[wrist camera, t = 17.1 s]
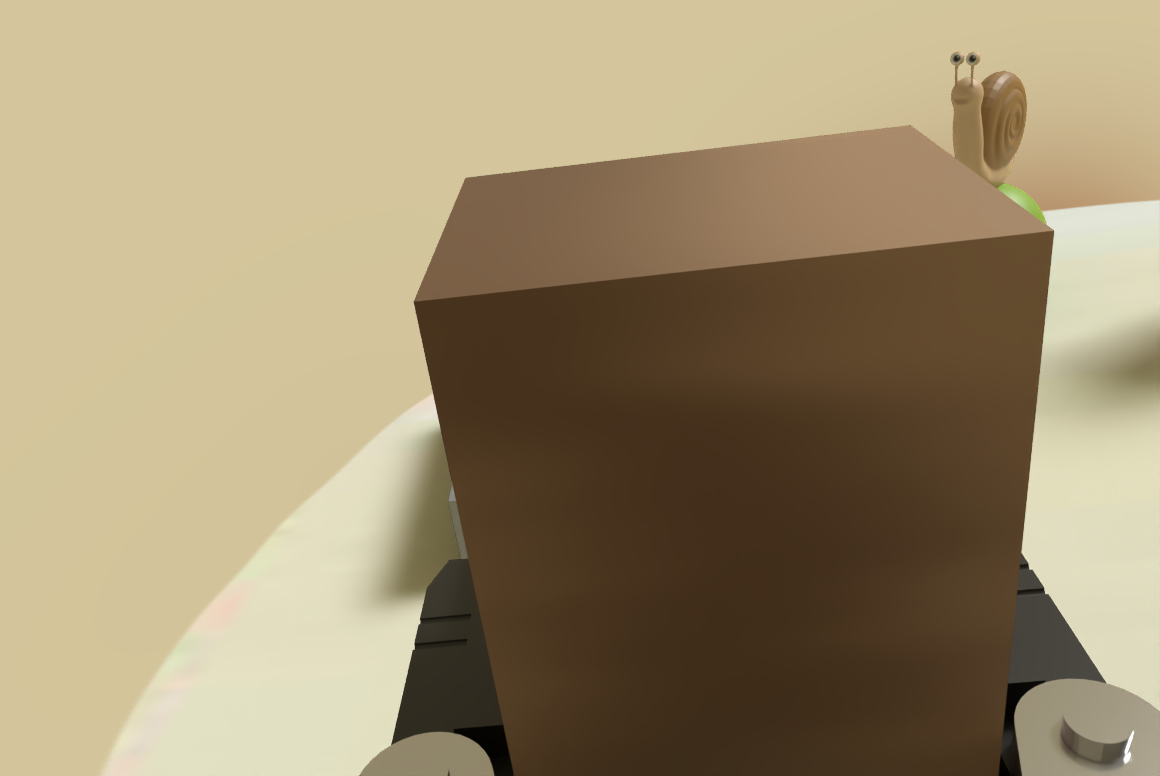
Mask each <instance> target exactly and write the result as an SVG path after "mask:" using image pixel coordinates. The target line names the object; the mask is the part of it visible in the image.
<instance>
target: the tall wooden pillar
mask: <svg viewBox="0 0 1160 776" xmlns="http://www.w3.org/2000/svg"><path fill="white" fill-rule="evenodd" d="M1053 237H1054V230H1053V229H1051V228H1050V227H1048V226H1047V225H1046V224H1044V223H1043V222H1042V221H1040V220H1039V219H1038V218H1036V217H1035V216H1033V215H1032V214H1031V213H1029V212H1028V211H1027V210H1025V209H1024V208H1023V207H1021V206H1020V205H1018V204H1017V203H1016V202H1014V201H1013V200H1012V199H1010V198H1009V197H1008V196H1006V195H1005V194H1004V193H1002V192H1001V191H999V190H998V189H997V188H995V187H994V186H993V185H991V184H990V183H989V182H987V181H986V180H984V179H983V178H982V177H980V176H979V175H978V174H976V173H975V172H974V171H972V170H971V169H969V168H968V167H967V166H965V165H964V164H963V163H961V162H960V161H959V160H957V159H956V158H954V157H953V156H952V155H950V154H949V153H948V152H946V151H945V150H944V149H942V148H941V147H939V146H938V145H937V144H935V143H934V142H933V141H931V140H930V139H928V138H927V137H926V136H924V135H923V134H922V133H920V132H919V131H918V130H916V129H915V128H913V127H912V126H911V125H908V126H900V127H892V128H883V129H875V130H867V131H858V132H850V133H841V134H833V135H824V136H816V137H807V138H799V139H790V140H782V141H773V142H765V143H757V144H748V145H739V146H731V147H722V148H714V149H706V150H697V151H689V152H680V153H672V154H663V155H655V156H647V157H639V158H630V159H621V160H613V161H604V162H596V163H587V164H579V165H571V166H562V167H553V168H545V169H537V170H528V171H520V172H511V173H503V174H495V175H486V176H477V177H469V178H465V180H464V183H463V186H462V188H461V190H460V192H459V195H458V197H457V200H456V202H455V204H454V207H453V209H452V212H451V214H450V216H449V219H448V221H447V223H446V226H445V228H444V231H443V233H442V235H441V238H440V240H439V243H438V245H437V247H436V250H435V253H434V255H433V257H432V259H431V262H430V264H429V267H428V269H427V271H426V274H425V276H424V279H423V281H422V283H421V286H420V288H419V290H418V293H417V295H416V298H415V300H414V305H415V310H416V314H417V319H418V324H419V329H420V334H421V338H422V343H423V348H424V352H425V357H426V362H427V366H428V371H429V376H430V381H431V385H432V390H433V395H434V400H435V404H436V409H437V414H438V418H439V423H440V428H441V433H442V437H443V442H444V447H445V451H446V456H447V461H448V466H449V470H450V475H451V480H452V485H453V489H454V494H455V499H456V503H457V508H458V513H459V518H460V522H461V527H462V532H463V536H464V541H465V546H466V551H467V555H468V560H469V565H470V569H471V574H472V579H473V584H474V588H475V593H476V598H477V602H478V607H479V612H480V617H481V621H482V626H483V631H484V636H485V640H486V645H487V650H488V654H489V659H490V664H491V669H492V673H493V678H494V683H495V687H496V692H497V697H498V702H499V706H500V711H501V716H502V720H503V725H504V730H505V735H506V739H507V744H508V749H509V753H510V758H511V763H512V768H513V772H514V776H998V775H999V765H1000V755H1001V745H1002V736H1003V726H1004V716H1005V706H1006V696H1007V687H1008V677H1009V667H1010V657H1011V648H1012V638H1013V628H1014V618H1015V608H1016V599H1017V589H1018V579H1019V569H1020V559H1021V550H1022V540H1023V530H1024V520H1025V511H1026V501H1027V491H1028V481H1029V471H1030V462H1031V452H1032V442H1033V432H1034V422H1035V413H1036V403H1037V393H1038V383H1039V374H1040V364H1041V354H1042V344H1043V334H1044V325H1045V315H1046V305H1047V295H1048V285H1049V276H1050V266H1051V256H1052V246H1053Z"/></svg>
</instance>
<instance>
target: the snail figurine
mask: <svg viewBox="0 0 1160 776" xmlns="http://www.w3.org/2000/svg"><path fill="white" fill-rule="evenodd" d="M963 61H964V55H963V53H961V52H955V53H953V55H952V56H951V63H952V64H953V65H955V86H954V88H953V90H952V93H951V101H952V104H953V107H954V119H953V145H954V152H955V158H956V159H957V160H959V161H960V162H961V163H963V164H964V165H965V166H967V167H968V168H969V169H971V170H972V171H974V172H975V173H976V174H978V175H979V176H980V177H982V178H983V179H984V180H986V181H987V182H989V183H990V184H991V185H993V186H994V187H995V188H997V189H998V190H999V191H1001V192H1002V193H1004V194H1005V195H1006V196H1008V197H1009V198H1010V199H1012V200H1013V201H1014V202H1016V203H1017V204H1018V205H1020V206H1021V207H1023V208H1024V209H1025V210H1027V211H1028V212H1029V213H1031V214H1032V215H1033V216H1035V217H1036V218H1038V219H1039V220H1040V221H1042V222H1043V223H1044V224H1046V221H1045V218H1044V215H1043V213H1042V211H1041V209H1040V208H1039V206H1038V205H1037V204H1036V202H1035V201H1034V200H1033V199H1032V198H1031V197H1030V196H1028V194H1026V193H1025V192H1023V191H1022V190H1020V189H1018V188H1016V187H1014V186H1012V185H1009V184H1005V183H1003V182H1004V181H1005V179H1006V178H1007V176H1008V175H1009V173H1010V171H1011V169H1012V166H1013V163H1014V156H1015V153H1016V151H1017V150H1018V147H1019V145H1020V142H1021V139H1022V135H1023V132H1024V127H1025V121H1026V109H1027V103H1026V94H1025V90H1024V87H1023V84H1022V82H1021V80H1020V79H1019V78H1018V77H1017V76H1016V75H1015V74H1013V73H1010V72H1006V71H1001V72H996V73H993V74H992V75H990V76H989V77H987V78H986V79H985V80H984V81H983V82H982V83H980V82H979V81H978V80H977V79H975V78H973V69H974V65H977V64H978V63H979V61H980V55H979V54H978V53H977V52H971V53H969V54H968V56H967V58H966V61H967V63H968V64H969V65H971V77H966V78H963V79H961V80H960V81H957V68H958V65H960V64H962V63H963Z"/></svg>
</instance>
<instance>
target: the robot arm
mask: <svg viewBox="0 0 1160 776" xmlns="http://www.w3.org/2000/svg"><path fill="white" fill-rule="evenodd" d="M420 621H421V623H420V624H419V626H418V630H417V634H416V639H415V643H414V644H415V650H413V652H412V656H411V661H410V665H409V669H408V674H407V678H406V683H405V687H404V691H403V696H402V700H401V705H400V709H399V713H398V718H397V722H396V727H395V731H394V735H393V740H392V744H391V746H389V747H388V748H386V749H385V750H383V751H382V752H380V753H379V754H378V755H377V756H376V757H375V758H373V759H372V760H371V761H370V762H369V764H368V765H367V766H366V767H365V768H364V769H363V771H362V772H361V774H360V775H359V776H514V772H513V768H512V763H511V758H510V753H509V749H508V744H507V739H506V735H505V730H504V725H503V720H502V716H501V711H500V706H499V702H498V697H497V692H496V687H495V683H494V678H493V673H492V669H491V664H490V659H489V654H488V650H487V645H486V640H485V636H484V631H483V626H482V621H481V617H480V612H479V607H478V602H477V598H476V593H475V588H474V584H473V579H472V574H471V569H470V565H469V560H468V558H467V559H457V560H449V561H448V563H447V564H446V565H445V566H444V568H443V569H442V570H441V571H440V573H439V574H438V575H437V576H436V578H435V579H434V580H433V581H432V583H431V584H430V585H429V586H428V588H427V590H426V595H425V599H424V604H423V608H422V612H421V617H420ZM998 776H1160V712H1159V711H1158V710H1157V709H1156V708H1154V707H1153V706H1152V705H1151V704H1149V703H1148V702H1146V701H1145V700H1143V699H1141V698H1140V697H1138V696H1136V695H1134V694H1132V693H1130V692H1128V691H1126V690H1124V689H1121V688H1119V687H1116V686H1113V685H1110V684H1107V683H1106V682H1105V680H1104V679H1103V677H1102V676H1101V674H1100V673H1099V671H1098V670H1097V668H1096V666H1095V665H1094V663H1093V662H1092V660H1091V659H1090V657H1089V656H1088V654H1087V653H1086V651H1085V650H1084V648H1083V647H1082V645H1081V643H1080V642H1079V640H1078V639H1077V637H1076V636H1075V634H1074V633H1073V631H1072V630H1071V628H1070V627H1069V625H1068V624H1067V622H1066V621H1065V619H1064V617H1063V616H1062V614H1061V613H1060V611H1059V610H1058V608H1057V607H1056V605H1055V604H1054V602H1053V601H1052V599H1051V598H1050V596H1049V594H1045V591H1044V587H1043V585H1042V584H1041V582H1040V581H1039V579H1038V578H1037V576H1036V575H1035V573H1034V571H1033V570H1029V565H1028V562H1027V561H1026V559H1025V558H1024V556H1023V555H1022V553H1021V559H1020V569H1019V579H1018V589H1017V599H1016V608H1015V618H1014V628H1013V638H1012V648H1011V657H1010V667H1009V677H1008V687H1007V696H1006V706H1005V716H1004V726H1003V736H1002V745H1001V755H1000V765H999V775H998Z"/></svg>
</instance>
